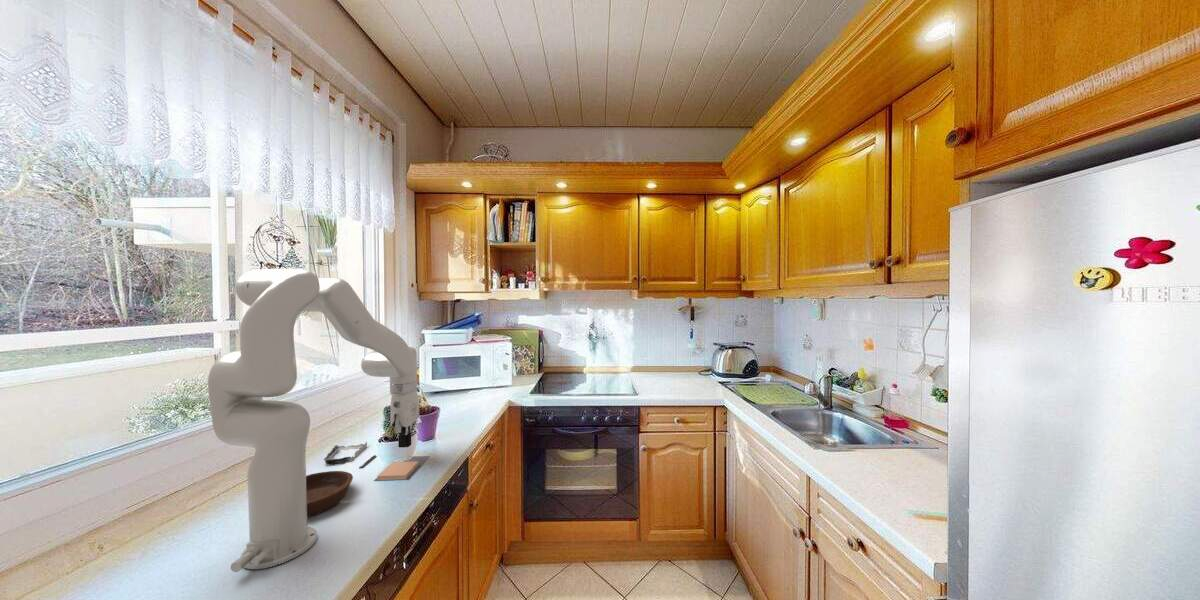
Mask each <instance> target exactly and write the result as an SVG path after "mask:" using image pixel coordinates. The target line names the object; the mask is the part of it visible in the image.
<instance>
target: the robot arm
mask: <svg viewBox="0 0 1200 600" xmlns="http://www.w3.org/2000/svg"><path fill="white" fill-rule="evenodd" d="M234 289H235V294H236V297H238V299H239V301H241V302H242V303H243V304H245V305H246V306H249V308H248V309H247V311H246V312H245V314H244V315H243V317H242V320H241V322H240V326H239V345H240V347H239V348H240V350H234V351H229V352H228V353H226V354H223V355H221V356H220V357H219V358H217V360H216V361H215V362H214V363H213V365H212V367H211V368H210V371H209V374H208V377H207V390H208V392H207V393H208V398H209V407H210V413H211V414H210V416H211V421H212V422H211V423H212V428H213V431H214V434H215V436H216V437H217V438H218V440H219V441H221V442H222V443H224V444H227V445H230V446H237V447H248V448H255V451H254V455H253V456H252V459H251V462H249V463H250V464H249V466H248V469H247V475H246V477H247V478H246V479H247V482H246V483H247V498H248V499H247V501H248V528H249V529H248V530H249V533H248V534H249V541H248V542H247V543H246V546H245V549H244V550H243V551H242V552H241V554H240V557H238V558H237V559H236V560H235V561H234V562H232V563H231V565H230V570H231V571H232V572H234V573H238V572H240V571H241V570H242V569H248V570H263V569H268V567H269V568H272V566H273V567H276V566H278V565H277V564H279V565H281V563H282V564H284V562H285V563H287V562H288V560H289V561H291V560H290V559H292V558H293V559H295V558H297V557H299V556H301V555H302V554H304V553H306V552H307V551H308V550H309V549H311V547H312V546H313V545H314V544H315V542H317V541H316V540H317V530H316V529H315V528H313V527H311V526H308V517H307V488H306V476H307V468H306V467H307V466H306V465H307V464H306V463H307V460H306V457H307V456H306V455H307V454H306V453H307V452H306V451H307V450H306V449H307V443H308V436H309V433H310V428H311V427H310V426H311V417H310V413H309V412H308V410H307V408H305V407H303V406H302V405H301V404H298V403H296V402H291V401H285V400H268V399H267V400H264V399H263V398H276V397H281V396H283V395H286V394H287V393H289V392H291V391H292V389H294V387H295V386H296V382H297V380H298V370H297V369H298V368H297V358H296V349H295V347H296V346H295V337H294V336H295V335H294V333H295V331H294V330H295V324H296V322H297V320H298V318H299V316H300V315H301V314H302V312H312V313H314V312H315V313H316V312H317V313H318V312H320V313H322V314H323V315H324V316H325V318H326V319H327V320H328V321H329V323H330V324H331V325H332V327H333V328H334V329H335V330H336V332H337V333H338V335H339V336H341V338H342V339H344V340H345V341H347V342H350V343H352V344H353V345H357V346H359V347H364V348H366V349H368V350H371V351H369V352H368V353H367V354H365V356H364V357H363V358H362V360H361V362H360V366H361V370H362V371H363V373H364V374H366V375H368V376H371V377H379V378H389V394H390V395H391V399H390V414H389V415H390V426H391V428H392V429H393V428H394V433H395V434H397V436H398V440H397V441H398V442H397V443H398V448H409V447H410V446H411V445H412V431H413V429H412V428H413V424H414V423H415V422H416V421H418V420H419V418H420V407H419V395H418V364H417V363H418V360H417V359H418V357H417V350H416V348H415V347H412V346H409V345H408V343H407V342H406V341H405V340H404V339H403V337H401V336H400V335H399V334H398V333H396V332H394V331H393V330H392V329H390V328H389V327H388V326H385V324H383V323H380V322H379V321H377V320H376V319H374V317H373V316H372V314H371V313H370V312H369V310H368V309H367V307H366V306H365V305H364V303H363V301H362V300H361V299H360V297H359V296H358V294H357V293H356V291H355V290H354V288H353V287H352V286H351V284H350V283H349V282H347V281H346V280H344V279H342V278H338V277H337V278H336V277H318V276H317V275H316V274H315V273H313V272H312V271H310V270H306V269H300V268H276V269H275V268H274V269H270V268H269V269H253V270H249V271H247V272H245V273H243V274H242V275H240V277H239V278H238V279H237V280H236V283H235V288H234ZM300 554H301V555H300ZM293 559H292V560H293ZM286 561H287V562H286ZM275 565H276V566H275Z"/></svg>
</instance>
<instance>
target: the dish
mask: <svg viewBox="0 0 1200 600" xmlns="http://www.w3.org/2000/svg"><path fill="white" fill-rule="evenodd" d="M353 479H354V476H353V474H352V473H350V472H348V471H344V470H330V471H321V472H315V473H311V474H306V488H307V518H308V517H313V516H315V515H319V514H321V513H324V512H325V511H328V510H330V509H331V508H333V507H335V506H336V505H338V504H340V502H342V500H344V498H345V496H347V493H348V491H349V488H350V484H352V482H353Z"/></svg>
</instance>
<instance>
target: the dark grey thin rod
mask: <svg viewBox="0 0 1200 600" xmlns="http://www.w3.org/2000/svg"><path fill="white" fill-rule="evenodd" d="M377 457H378V456H377V455H376V454H374V455H373V456H371V457H370V458H369V459H368V460H366V461H365V462H364V463H362V464H361V465H360V466H359V467H358V469H359V470H361V469H364V468H366V466H368V465H369V464H370V463H372V462H373V460H375V459H376V458H377Z"/></svg>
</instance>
